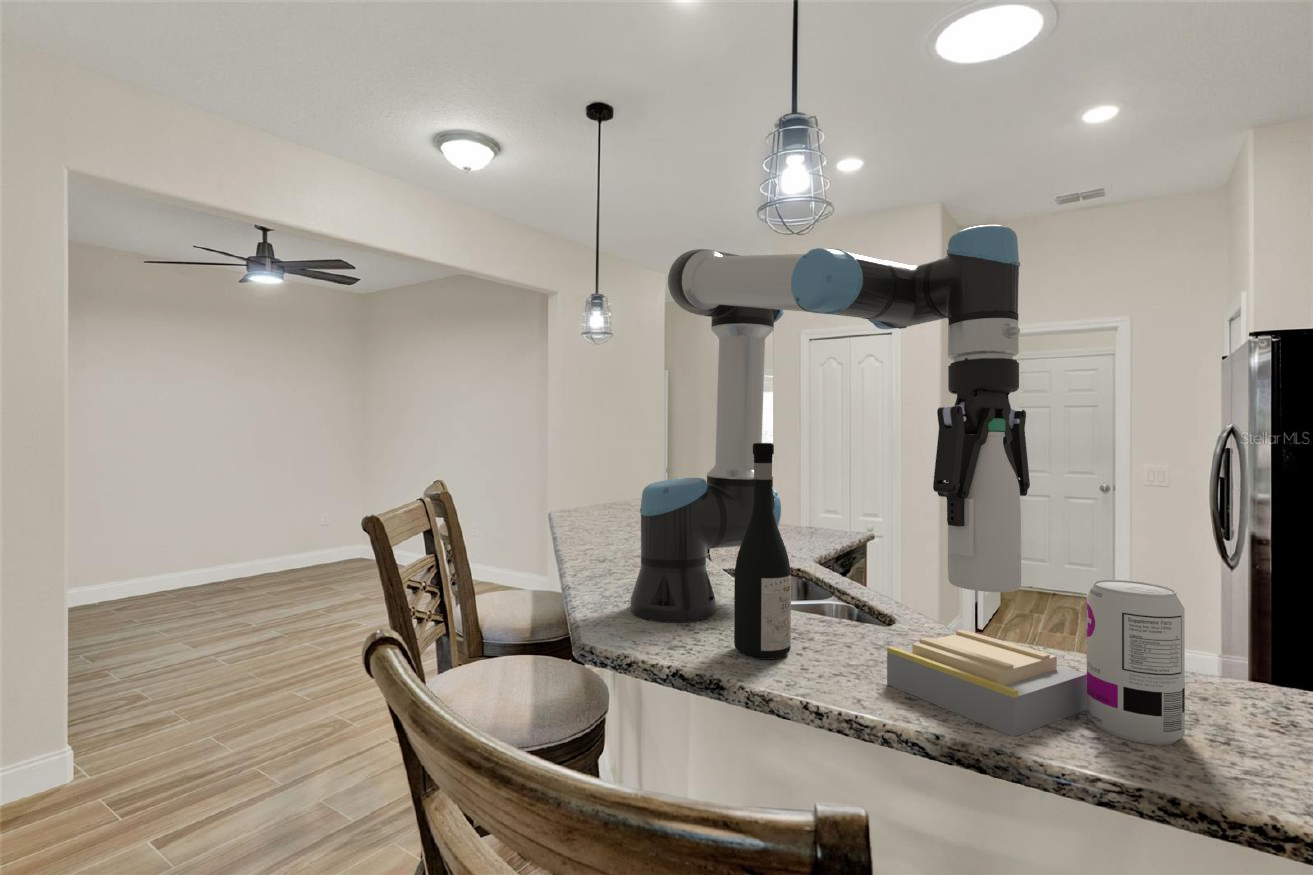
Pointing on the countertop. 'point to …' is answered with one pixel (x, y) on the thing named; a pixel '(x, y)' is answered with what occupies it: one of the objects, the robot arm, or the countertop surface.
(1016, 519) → the milk bottle
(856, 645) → the countertop surface
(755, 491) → the wine bottle
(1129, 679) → the supplement can
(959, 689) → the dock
